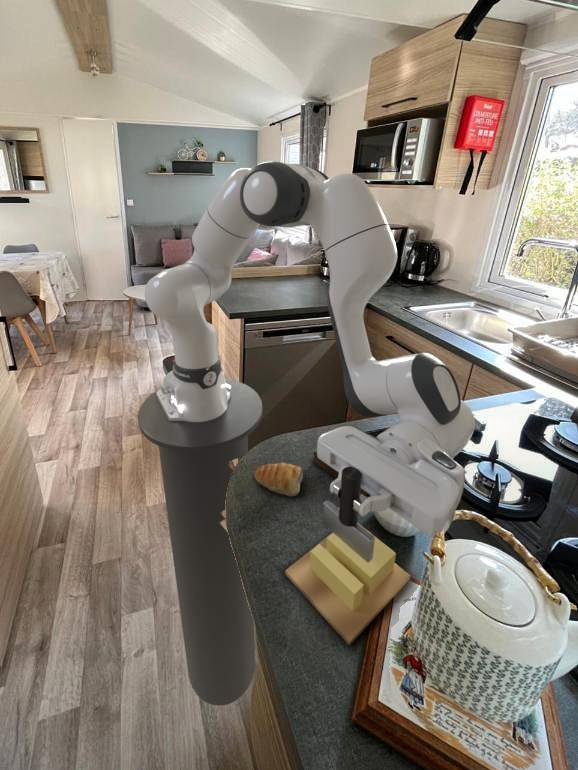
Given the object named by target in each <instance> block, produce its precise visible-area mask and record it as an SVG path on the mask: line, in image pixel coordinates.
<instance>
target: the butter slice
mask: <svg viewBox="0 0 578 770" xmlns="http://www.w3.org/2000/svg"><path fill="white" fill-rule="evenodd" d="M318 544H319V543H318ZM318 544H317V545H318ZM315 546H316V545H315ZM315 546H314V547H315ZM314 547H313V548H314ZM313 548H312V549H313ZM310 550H311V549H310ZM310 550H309V551H310ZM310 569H311V570H312V571H313V572H314V573H315V574H316V575H317V576H318V577H319V578H320V579H321V580H322V581H323V582H324V583H325V584H326V585H327V586H328V587H329V588H330V589H331V590H332V591H333V592H334V593H335V594H336V595H337V596H338V597H339V598H340V599H341V600H342V601H343V602H344V603H345V604H346V605H347V606H348V607H349V608H350V609H351V610H352V612H353V611H354V610H355V609H356V608H357V607H358V606H359V605H360V604H361V603H362V597H363V588H364V585H363V584H362V583H361V582H360V581H359V580H358V579H357V578H356V577H355V576H353V575H352V574H351V573H350V572H349V571H348V570H347V569H346V568H345V567H344V566H343V565H342V564H341V563H340V562H338V561H337V560H336V559H335V558H334V557H333V556H332V555H331V554H330V553H329V552H328V551H327V550H326V549H324V548H323V547H322V546H321V545H320V544H319V545H318V546H316V547H315V548H314V549H313V550H311V551H310Z"/></svg>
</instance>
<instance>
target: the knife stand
mask: <svg viewBox="0 0 578 770" xmlns="http://www.w3.org/2000/svg"><path fill="white" fill-rule="evenodd" d="M313 463H314V464H315V465H317V466H318V467H319V468H321V469H322V470H324V471H325V472H327V474H329V475H331V476H332V477H333V478H335V480H336V479H337V478H338V475H339V472H337V471H336V470H334V469H333V468H332V467H330V466H329V465H327V464H326V463H324V462H323V461H322V460H320V459H319V458H318V456H317V448H316V449H315V450H314V451H313ZM361 494H363V495H364V496H366V497H367V495H369V494H368V493H367V492H366V491H364V490H363V489H361V488H360V495H361Z"/></svg>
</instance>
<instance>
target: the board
mask: <svg viewBox="0 0 578 770" xmlns="http://www.w3.org/2000/svg"><path fill="white" fill-rule="evenodd" d="M331 534H333V532H331V533H329V535H328V536H326V537H325V538H324V539H323V540H321V541H319V543H318V544H316V545H315V546H314V547H313V548H311V549H310V550H309V551H308V552H306V553H305V554H304V555H303V556H302V557H300V558H299V559H297V560H296V561H295V562H294V563H293V564H291V565H290V566H289V567H287V568H286V569H285V570H284V574H285V576H286V577H287V578H288V579H289V580H290V582H292V584H293V585H294V586H295V587H296V588H297V589H298V590H299V591H300V592H301V593H302V595H303V596H304V597H305V598H306V599H307V600H308V602H310V604H312V606H313V607H314V608H315V610H317V611H318V612H319V613H320V615H321V616H322V617H323V618H324V619H325V620H326V622H327V623H328V624H329V625H330V626H331V627H332V628H333V629H334V630H335V631H336V633H337V634H338V635H339V636H340V638H342V640H344V641H345V643H346V644H347V645H348V646H351V644H352V643H353V642H354V641H355V640H356V639H357V638H358V637H359V636H360V635H361V633H363V631H364V630H365V629H366V627H368V626H369V625H370V623H371V622H372V621H373V620H374V619H376V617H377V616H378V615H379V614H380V613H381V612H382V610H384V608H385V607H386V606H387V605H388V604H389V603H390V602H391V600H393V598H394V597H395V596H396V595H397V594H398V593H399V592H400V591H401V590H402V588H403V587H404V586H405V585H406V584H407V583H408V582H409V581H410V580H411V575H410V574H409V573H408V572H406V570H404V569H403V568H402V567H401V566H399V565H398V564H397V563H395V564H394V570H393V571H392V572H391V573H390V574H389V575H388V576H387V577H386V578H385V579H384V580H383V581H382V582H381V583H380V584H379V585H378V587H377V588H376V589H375V590H374V591H373V592H372V593H371V594H370V595H368V594H367V593H366V592H365V591H364V590H363V597H362V603H361V604H360V605H359V606H358V607H357V608H356V609H355V610H354V611H353V612H352V610H351V609H350V608H349V607H348V606H347V605H346V604H345V603H344V602H343V601H342V600H341V599H340V598H339V597H338V596H337V595H336V594H335V593H334V592H333V591H332V590H331V589H330V588H329V587H328V586H327V585H326V584H325V583H324V582H323V581H322V580H321V579H320V578H319V577H318V576H317V575H316V574H315V573H314V572H313V571H312V570H311V569H310V551H311V550H313V549H314V548H315V547H316V546H318V545H319V544H320V545H321V546H322V547H323V548H324V549H326V545H327V538H328V537H329V536H330V535H331Z"/></svg>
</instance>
